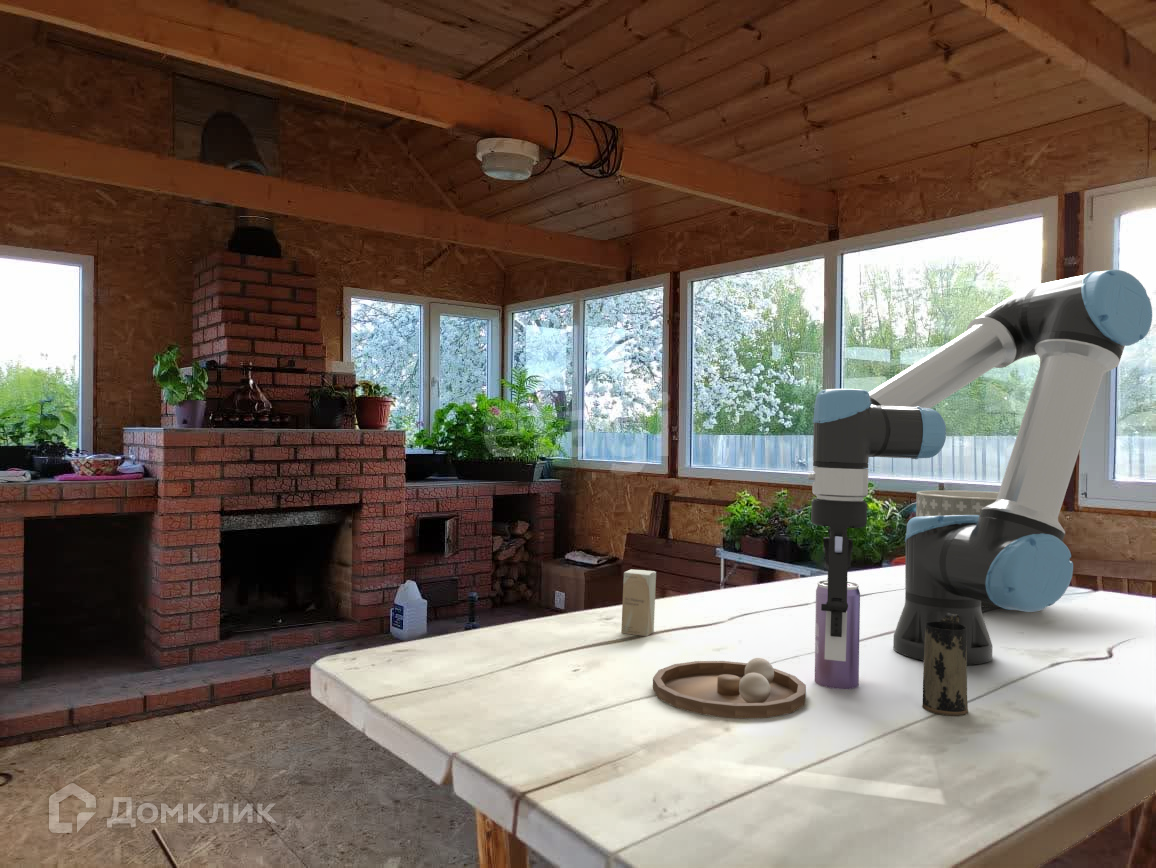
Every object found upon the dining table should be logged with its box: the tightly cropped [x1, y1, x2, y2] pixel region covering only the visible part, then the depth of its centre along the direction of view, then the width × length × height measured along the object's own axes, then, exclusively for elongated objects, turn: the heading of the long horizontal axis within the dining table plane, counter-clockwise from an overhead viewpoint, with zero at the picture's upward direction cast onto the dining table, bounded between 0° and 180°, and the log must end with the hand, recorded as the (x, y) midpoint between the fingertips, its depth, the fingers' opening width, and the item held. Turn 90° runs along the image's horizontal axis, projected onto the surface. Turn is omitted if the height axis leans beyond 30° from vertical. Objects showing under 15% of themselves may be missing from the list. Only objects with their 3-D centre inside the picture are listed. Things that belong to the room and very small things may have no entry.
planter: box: [915, 489, 1001, 608], centre depth 181 cm, size 25×25×24 cm
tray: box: [652, 660, 807, 719], centre depth 111 cm, size 20×20×3 cm
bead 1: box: [745, 657, 775, 684], centre depth 113 cm, size 4×4×4 cm
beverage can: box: [814, 579, 861, 690], centre depth 116 cm, size 6×6×15 cm
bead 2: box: [739, 673, 770, 703], centre depth 106 cm, size 4×4×4 cm
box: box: [620, 568, 657, 637], centre depth 148 cm, size 5×4×11 cm
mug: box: [921, 613, 969, 717], centre depth 109 cm, size 8×6×12 cm
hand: (834, 648), depth 116 cm, fingers open, 13 cm apart
